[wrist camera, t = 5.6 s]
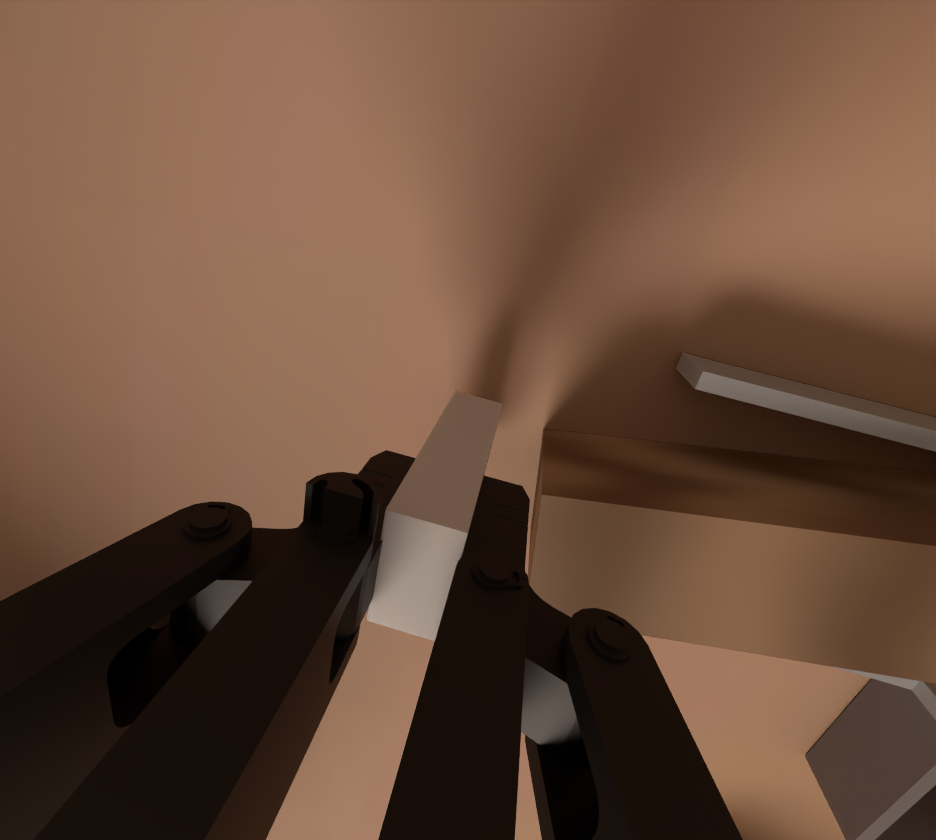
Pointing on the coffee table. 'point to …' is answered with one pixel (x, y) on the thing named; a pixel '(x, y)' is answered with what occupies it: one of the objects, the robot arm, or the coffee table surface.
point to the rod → (741, 550)
